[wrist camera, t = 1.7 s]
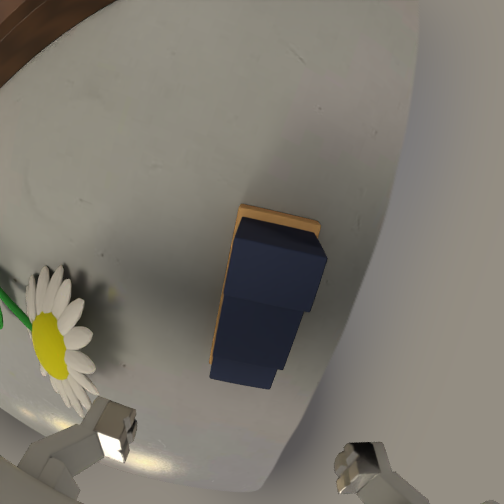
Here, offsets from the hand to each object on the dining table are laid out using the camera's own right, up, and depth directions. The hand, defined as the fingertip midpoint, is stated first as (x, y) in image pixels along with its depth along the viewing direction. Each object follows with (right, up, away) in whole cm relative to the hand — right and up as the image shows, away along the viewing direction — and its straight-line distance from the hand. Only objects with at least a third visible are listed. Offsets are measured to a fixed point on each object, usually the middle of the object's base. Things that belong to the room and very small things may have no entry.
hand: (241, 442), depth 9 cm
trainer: (+1, +4, +11) cm, 12 cm away
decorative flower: (-23, +5, +12) cm, 27 cm away
